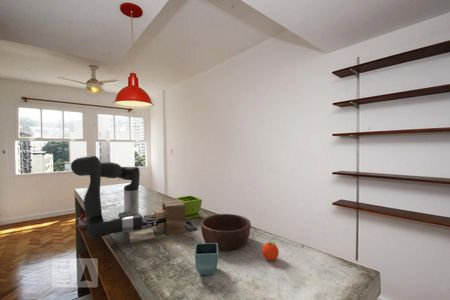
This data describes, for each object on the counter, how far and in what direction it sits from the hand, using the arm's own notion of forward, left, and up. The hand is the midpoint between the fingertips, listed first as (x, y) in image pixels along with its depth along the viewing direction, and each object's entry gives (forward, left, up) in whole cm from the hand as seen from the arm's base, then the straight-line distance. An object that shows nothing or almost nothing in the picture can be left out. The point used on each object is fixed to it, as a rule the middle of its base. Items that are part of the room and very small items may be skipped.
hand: (164, 218), depth 119 cm
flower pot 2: (+46, +7, -7) cm, 47 cm away
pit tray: (0, +14, -7) cm, 16 cm away
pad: (0, -12, -7) cm, 14 cm away
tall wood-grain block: (0, +3, -7) cm, 8 cm away
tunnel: (0, +5, -7) cm, 9 cm away
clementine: (+50, +35, -7) cm, 61 cm away
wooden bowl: (+27, +25, -7) cm, 37 cm away
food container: (-15, -17, -7) cm, 24 cm away
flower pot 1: (-17, +19, -7) cm, 26 cm away
